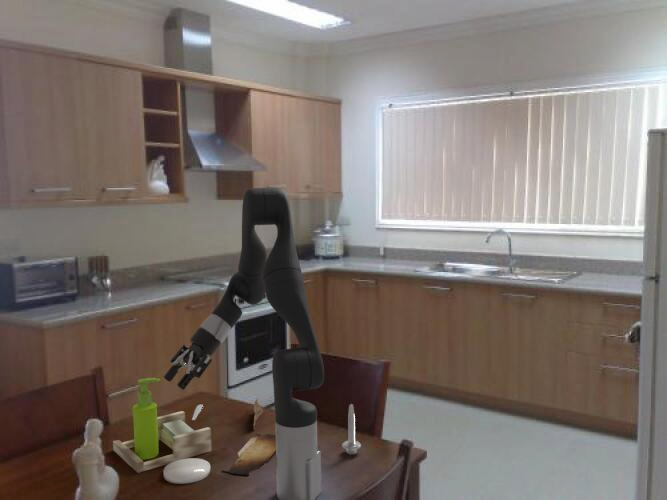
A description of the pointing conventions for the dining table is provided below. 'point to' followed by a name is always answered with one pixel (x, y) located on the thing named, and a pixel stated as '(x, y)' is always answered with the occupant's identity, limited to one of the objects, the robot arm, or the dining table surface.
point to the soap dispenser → (145, 422)
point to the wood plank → (257, 412)
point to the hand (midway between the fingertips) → (173, 383)
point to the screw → (351, 434)
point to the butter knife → (197, 411)
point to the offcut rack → (169, 443)
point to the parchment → (254, 454)
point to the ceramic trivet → (186, 470)
